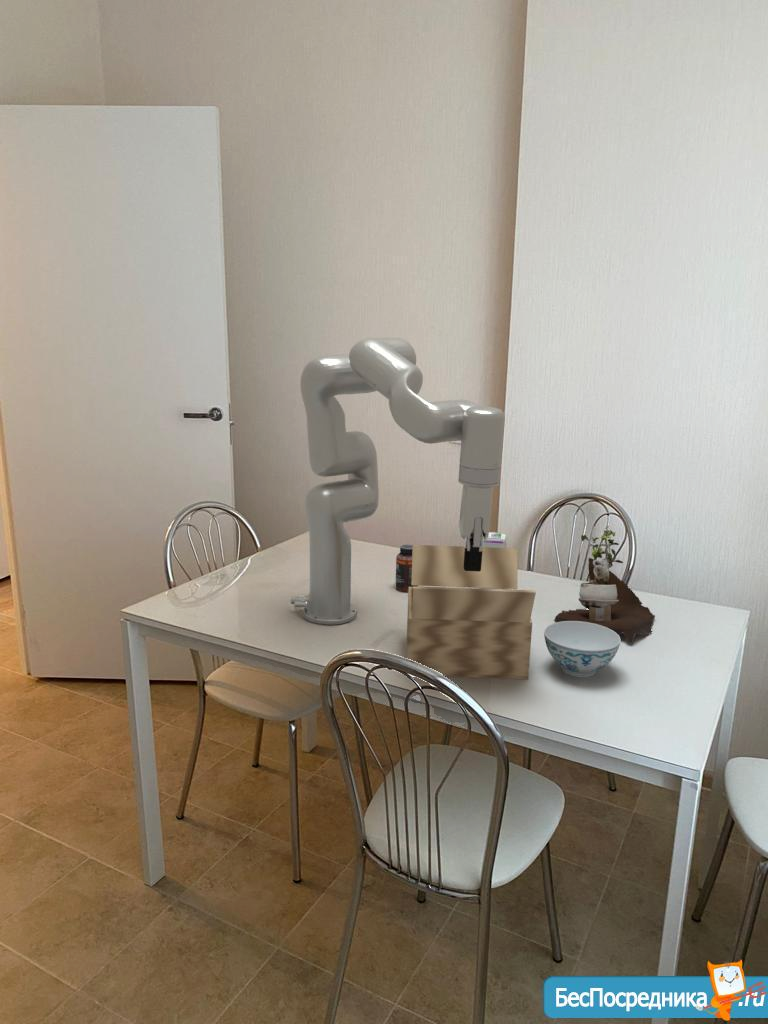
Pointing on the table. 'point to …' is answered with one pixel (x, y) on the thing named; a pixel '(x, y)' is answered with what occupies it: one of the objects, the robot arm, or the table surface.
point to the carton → (470, 646)
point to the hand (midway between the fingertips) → (472, 569)
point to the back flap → (449, 571)
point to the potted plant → (609, 597)
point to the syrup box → (495, 543)
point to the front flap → (472, 604)
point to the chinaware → (581, 646)
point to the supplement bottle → (404, 568)
